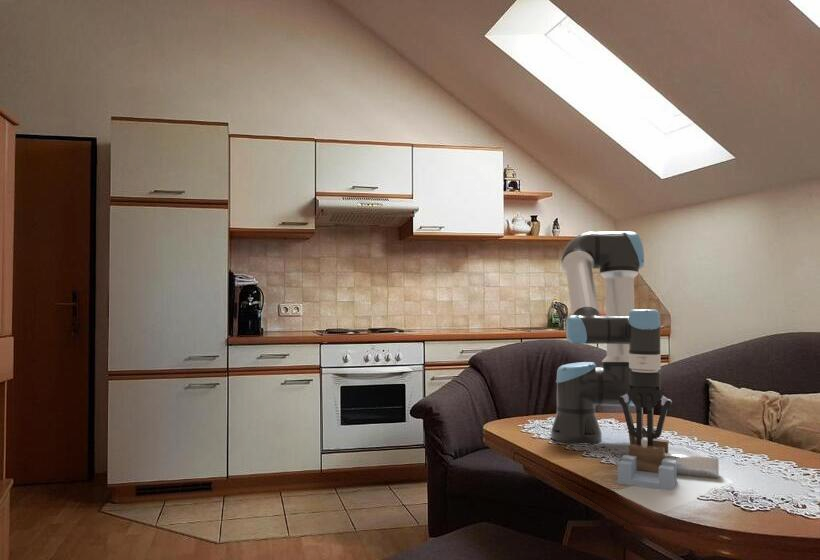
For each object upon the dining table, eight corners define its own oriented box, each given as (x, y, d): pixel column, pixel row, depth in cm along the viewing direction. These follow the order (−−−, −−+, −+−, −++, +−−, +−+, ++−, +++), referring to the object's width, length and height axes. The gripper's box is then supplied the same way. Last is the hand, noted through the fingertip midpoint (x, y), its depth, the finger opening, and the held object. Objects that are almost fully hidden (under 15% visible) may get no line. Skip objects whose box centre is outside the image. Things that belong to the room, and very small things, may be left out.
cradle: (623, 475, 162) (623, 454, 162) (676, 481, 156) (676, 460, 156) (617, 484, 154) (617, 463, 154) (672, 492, 148) (672, 469, 148)
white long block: (649, 467, 168) (649, 448, 168) (718, 475, 161) (718, 455, 160) (646, 474, 164) (646, 455, 163) (718, 483, 156) (717, 462, 156)
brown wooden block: (635, 463, 172) (635, 436, 173) (668, 467, 169) (668, 440, 169) (629, 474, 162) (628, 446, 162) (663, 478, 159) (663, 449, 159)
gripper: (615, 370, 166) (615, 464, 165) (670, 373, 160) (671, 471, 159) (620, 367, 173) (620, 458, 172) (673, 370, 167) (674, 464, 166)
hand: (645, 464), depth 166 cm, fingers closed
